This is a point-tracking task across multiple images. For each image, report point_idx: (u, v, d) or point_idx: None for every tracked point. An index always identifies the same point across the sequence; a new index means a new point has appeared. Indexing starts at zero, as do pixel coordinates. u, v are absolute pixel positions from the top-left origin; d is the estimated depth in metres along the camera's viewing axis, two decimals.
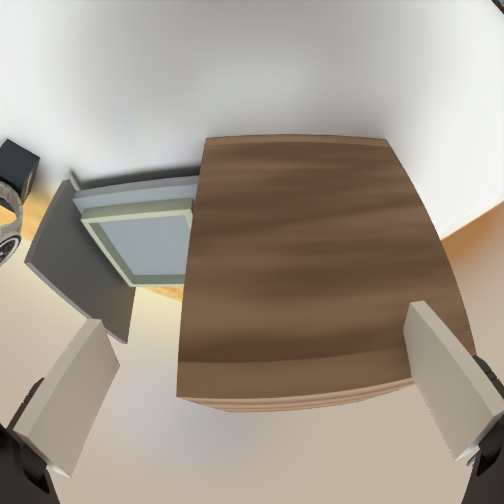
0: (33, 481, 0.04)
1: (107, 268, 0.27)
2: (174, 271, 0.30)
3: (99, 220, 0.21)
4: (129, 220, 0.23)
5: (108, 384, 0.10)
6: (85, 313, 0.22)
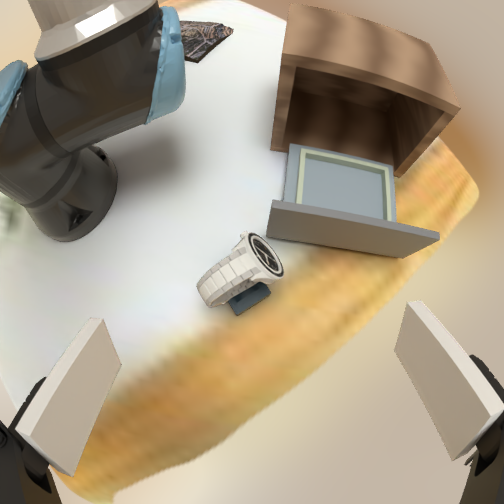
0: (35, 481, 0.04)
1: None
2: (378, 197, 0.33)
3: None
4: (312, 198, 0.33)
5: (110, 383, 0.10)
6: (364, 217, 0.25)
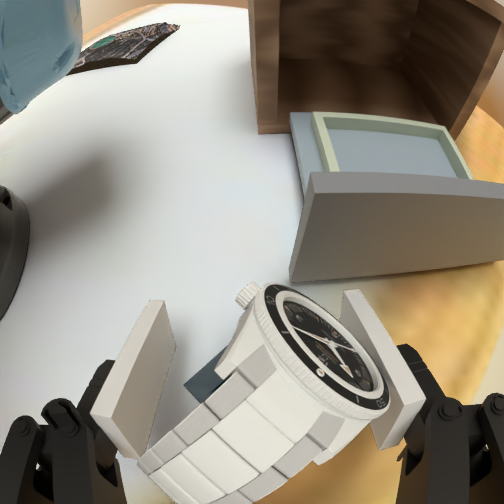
0: (99, 471, 0.06)
1: None
2: (449, 172, 0.17)
3: None
4: None
5: (168, 364, 0.12)
6: (501, 187, 0.08)
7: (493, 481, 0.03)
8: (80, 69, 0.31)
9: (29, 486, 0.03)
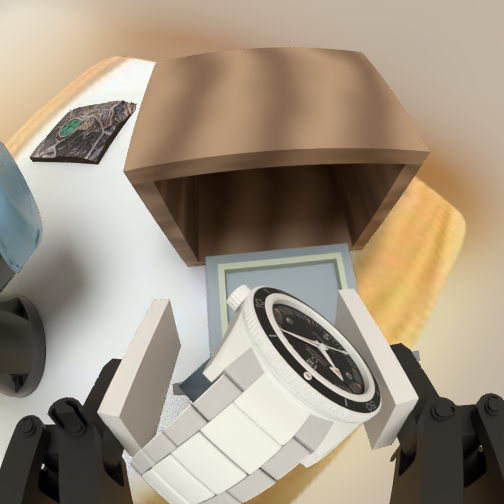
0: (106, 471, 0.06)
1: None
2: (333, 298, 0.27)
3: None
4: None
5: (174, 363, 0.12)
6: None
7: (488, 482, 0.03)
8: (53, 159, 0.39)
9: (35, 486, 0.03)
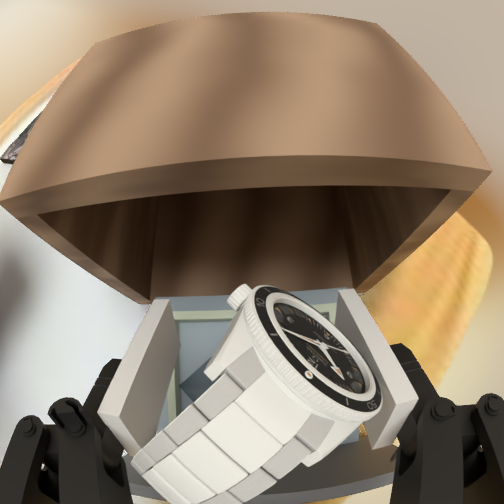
0: (106, 471, 0.06)
1: None
2: None
3: None
4: None
5: (173, 363, 0.12)
6: (252, 498, 0.09)
7: (488, 482, 0.03)
8: None
9: (35, 486, 0.03)
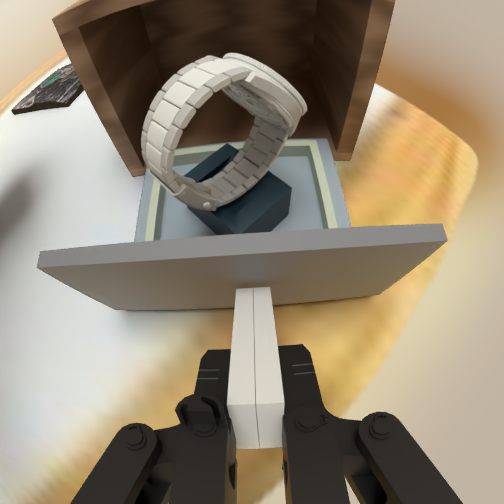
0: None
1: None
2: (307, 194, 0.19)
3: None
4: (181, 227, 0.19)
5: None
6: (221, 240, 0.10)
7: None
8: (30, 109, 0.32)
9: None
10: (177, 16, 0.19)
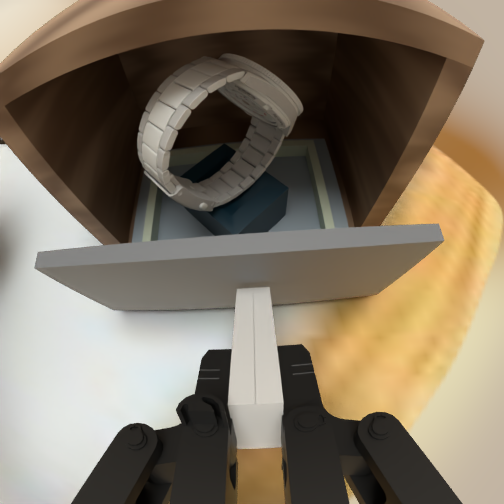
0: None
1: None
2: (304, 194, 0.19)
3: None
4: (178, 227, 0.19)
5: None
6: (217, 241, 0.10)
7: None
8: None
9: None
10: (158, 45, 0.16)
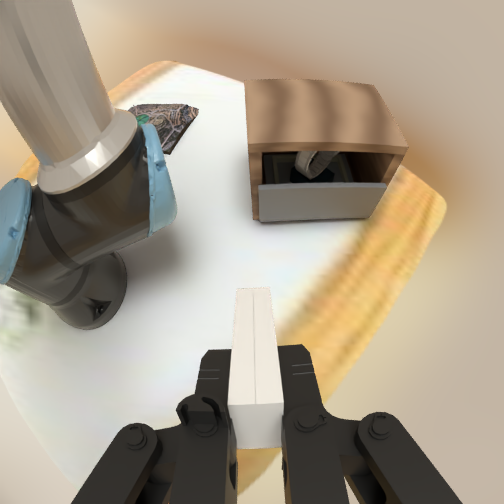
0: None
1: None
2: (338, 178, 0.45)
3: None
4: None
5: None
6: (324, 184, 0.36)
7: None
8: None
9: None
10: None
